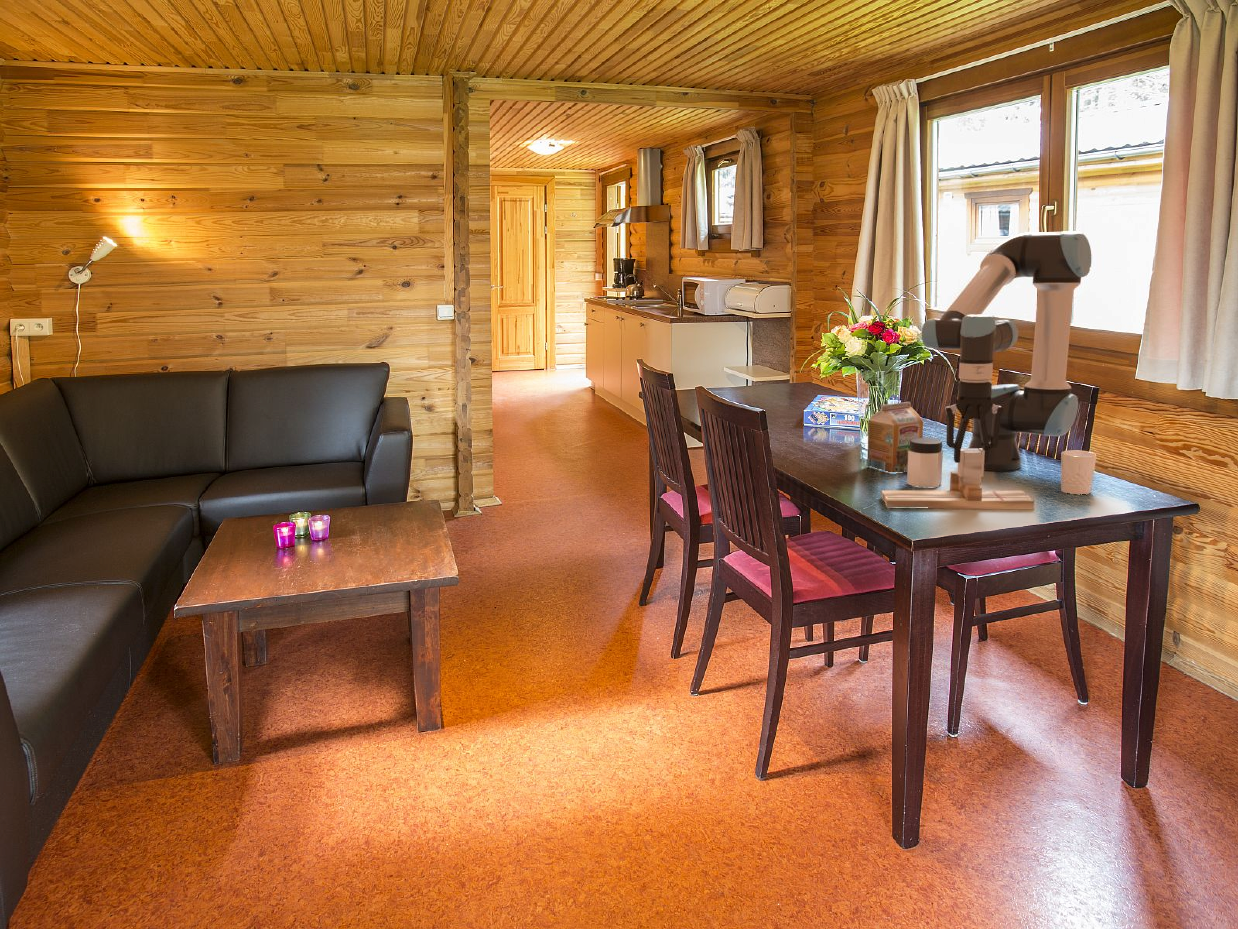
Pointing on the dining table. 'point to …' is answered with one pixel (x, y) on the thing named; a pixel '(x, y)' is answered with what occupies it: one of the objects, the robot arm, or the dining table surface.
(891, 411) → the milk carton
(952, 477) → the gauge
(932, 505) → the board
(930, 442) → the jar
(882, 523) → the dining table surface
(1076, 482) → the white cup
